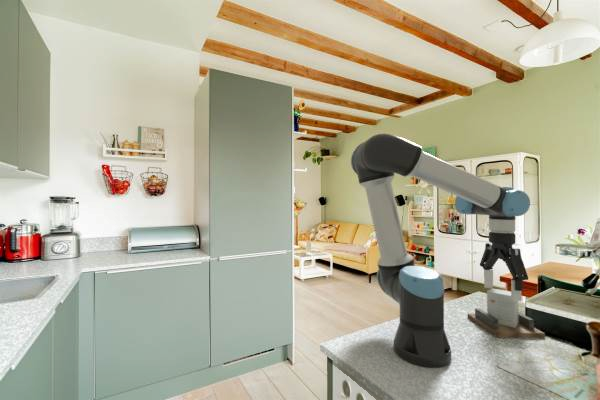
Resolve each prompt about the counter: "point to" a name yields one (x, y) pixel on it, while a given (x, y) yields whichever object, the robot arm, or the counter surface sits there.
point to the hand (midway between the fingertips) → (501, 293)
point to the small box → (502, 307)
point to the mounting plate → (501, 331)
